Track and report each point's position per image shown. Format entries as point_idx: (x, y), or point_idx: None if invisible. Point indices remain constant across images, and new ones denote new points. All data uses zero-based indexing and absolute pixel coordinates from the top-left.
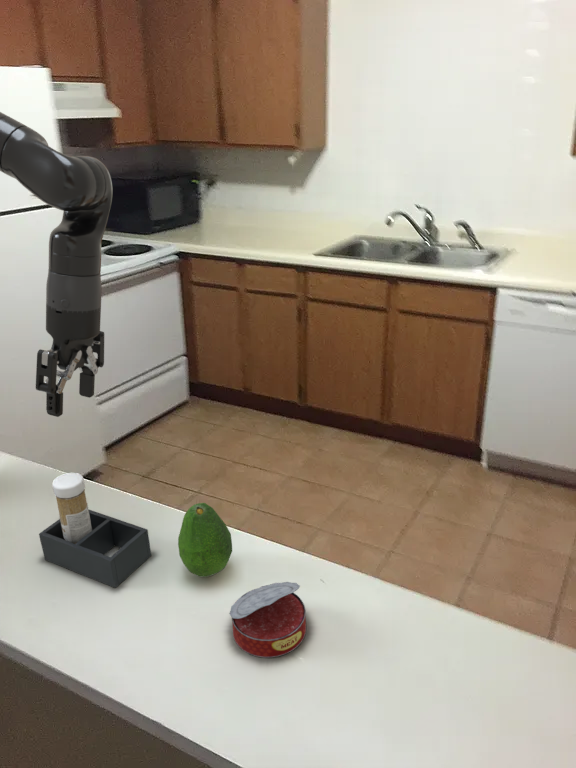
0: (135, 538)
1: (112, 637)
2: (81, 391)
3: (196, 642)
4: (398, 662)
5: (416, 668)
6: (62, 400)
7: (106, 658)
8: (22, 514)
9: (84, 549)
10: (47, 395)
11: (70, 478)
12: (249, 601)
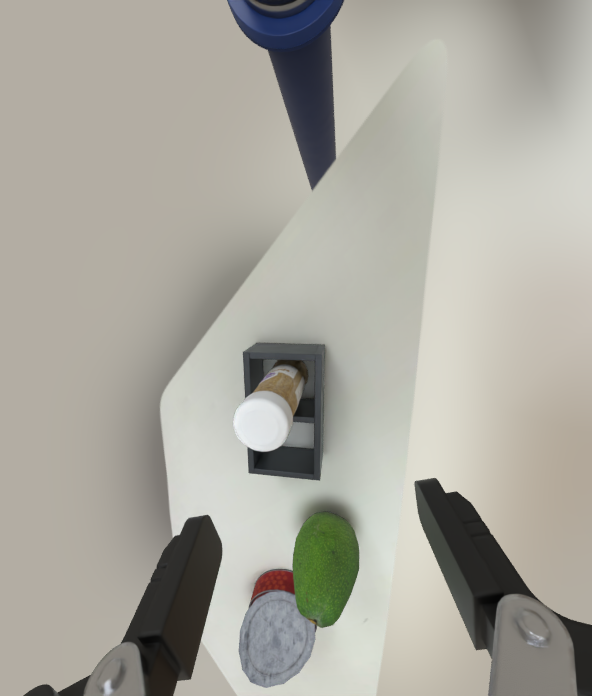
0: (296, 477)
1: (211, 483)
2: (421, 500)
3: (243, 548)
4: (302, 681)
5: (302, 691)
6: (201, 625)
7: (192, 491)
8: (316, 226)
9: None
10: (130, 633)
11: (266, 428)
12: (277, 611)
